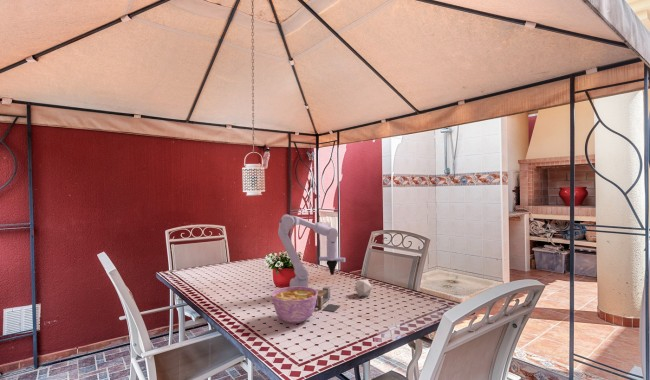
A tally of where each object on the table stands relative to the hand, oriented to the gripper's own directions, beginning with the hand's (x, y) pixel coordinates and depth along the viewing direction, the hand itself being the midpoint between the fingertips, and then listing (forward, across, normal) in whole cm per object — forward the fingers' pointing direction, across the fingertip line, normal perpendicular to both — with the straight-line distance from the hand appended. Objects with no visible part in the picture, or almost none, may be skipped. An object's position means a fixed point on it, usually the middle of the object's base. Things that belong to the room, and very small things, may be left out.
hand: (332, 274), depth 175 cm
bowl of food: (+10, -6, -40) cm, 41 cm away
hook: (+10, -4, -17) cm, 20 cm away
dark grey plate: (+10, +6, -23) cm, 25 cm away
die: (+10, +17, -1) cm, 20 cm away
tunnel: (+10, -1, -22) cm, 24 cm away
